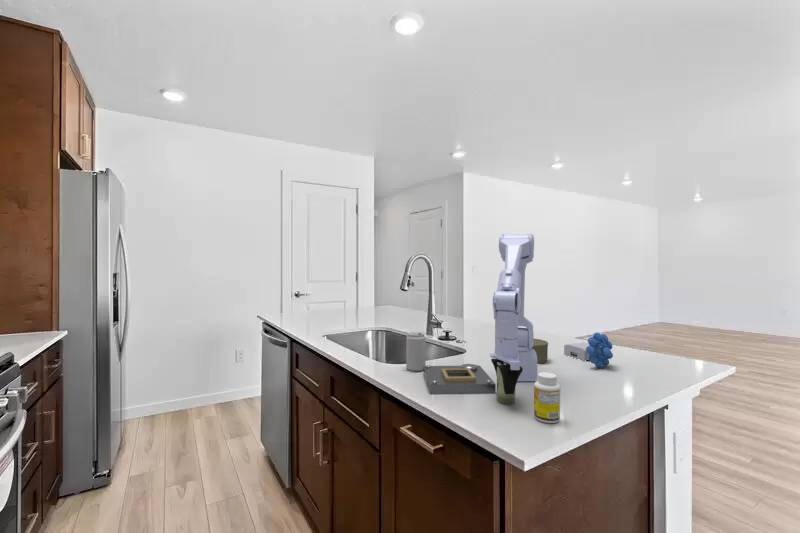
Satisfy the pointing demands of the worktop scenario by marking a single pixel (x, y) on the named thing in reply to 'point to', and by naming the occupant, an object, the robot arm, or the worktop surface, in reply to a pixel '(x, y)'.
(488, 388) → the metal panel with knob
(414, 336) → the beverage can
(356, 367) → the worktop surface
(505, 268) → the robot arm
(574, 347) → the charger
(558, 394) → the supplement bottle
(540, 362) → the can
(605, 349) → the grapes
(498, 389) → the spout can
